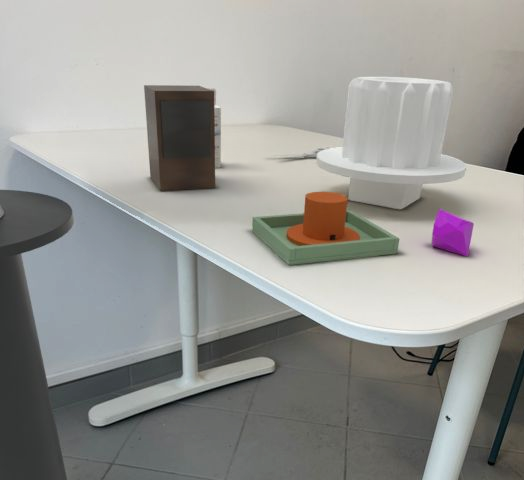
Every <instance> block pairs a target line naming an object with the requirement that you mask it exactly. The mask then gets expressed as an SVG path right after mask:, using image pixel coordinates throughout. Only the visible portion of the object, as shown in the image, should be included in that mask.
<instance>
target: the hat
mask: <svg viewBox="0 0 524 480" xmlns="http://www.w3.org/2000/svg"><path fill="white" fill-rule="evenodd" d="M348 201H349V199H348V196H346V194H345V195H344V194H342V193H339V192H333V191H312V192H308V193H307V194H305V196H304V208H303V209H304V212H303V213H304V221H303V224H298V225H295V226H292V227H290V228H289V229H288V230H287V234H286V236H287V239H288V240H289V241H290V242H292V243H294V244H296V245H298V246H304V245H315V244H325V243H336V242H346V241H357V240H360V235H359V234H358V233H357V232H356V231H355V230H353V229H350V228H348V227H345V219H346V211H347V210H348Z"/></svg>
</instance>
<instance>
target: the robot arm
mask: <svg viewBox="0 0 524 480" xmlns="http://www.w3.org/2000/svg"><path fill="white" fill-rule="evenodd" d="M3 215H4V211H3V209H2V207H1V206H0V218H1V217H2V216H3Z"/></svg>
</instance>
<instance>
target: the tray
mask: <svg viewBox="0 0 524 480" xmlns="http://www.w3.org/2000/svg"><path fill="white" fill-rule="evenodd" d="M303 221H304V212H301V213H289V214H276V215H262V216H252V223H251V224H252V225H251V226H252V228H251V232H253V233H254V234H255V236H257V237H258V238H259V239H260V240H261V241H262V242H263V243H264V244H265V245H266V246H268V247H269V249H271V250H272V252H274V253H275V254H276V255H277V256H278V257H280V258H281V259H282V261H284V262H285V263H286V264H287V265H288V266H293V265H303V264H311V263H312V264H313V263H321V262H330V261H331V262H332V261H339V260H349V259H359V258H368V257H376V256H377V257H378V256H386V255H395V254H398V251H399V244H400V237H398V236H396V235H394V234H392V233H391V232H389V231H388V230H387V229H385V228H382V227H380V226H379V225H377V224H375V223H373V222H372V221H370V220H369V219H367V218H365V217H363V216H362V215H360V214H358V213H356V212H354V211H353V210H351V209H347V211H346V219H345V227H348V228H350V229H353V230H355V231H356V232H357V233H358V234H359V235H360V240H357V241H346V242H336V243H325V244H315V245H304V246H298V245H296V244H294V243H292V242H290V241H289V240H288V239H287V236H286V234H287V230H288V229H289V228H290V227H292V226H295V225H298V224H303Z"/></svg>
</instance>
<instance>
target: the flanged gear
mask: <svg viewBox="0 0 524 480" xmlns="http://www.w3.org/2000/svg"><path fill="white" fill-rule="evenodd" d="M453 95H454V87H453V85H452V83H451V82H450V81H446V80H445V81H444V80H440V79H439V80H438V79H430V78H419V77H404V76H374V75H373V76H372V75H371V76H357V77H354V78H352V79H351V80H350V82H349V85H348V89H347V99H346V107H345V108H346V109H345V119H344V126H343V127H344V128H343V138H342V146H335V147H330V148H329V149H325V150H322V151H320V152H318V153H317V157H316V161H315V164H316V166H317V167H318V168H320V170H324V171H326V172H328V173H331V174H334V175H337V176H341V177H346V178H349V184H348V195H347V198H348V201H351V202H355V203H361V204H368V205H373V206H378V207H383V208H389V209H393V210H403V209H405V208H406V207H408V206H409V205H411V204H413V203H414V202H416V201H418V200H419V199H420V198H421V193H422V188H423V185H434V184H442V183H443V184H444V183H449V182H455V181H458V180H460V179H463V178H464V177H465V175H466V171H467V164H466V163H465V162H464V161H462V159H460V158H459V159H458V158H456V157H453V156H451V155H447V154H443V153H442V152H443V148H444V147H443V146H444V142H445V137H446V131H447V125H448V121H449V115H450V110H451V105H452V101H453Z"/></svg>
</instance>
